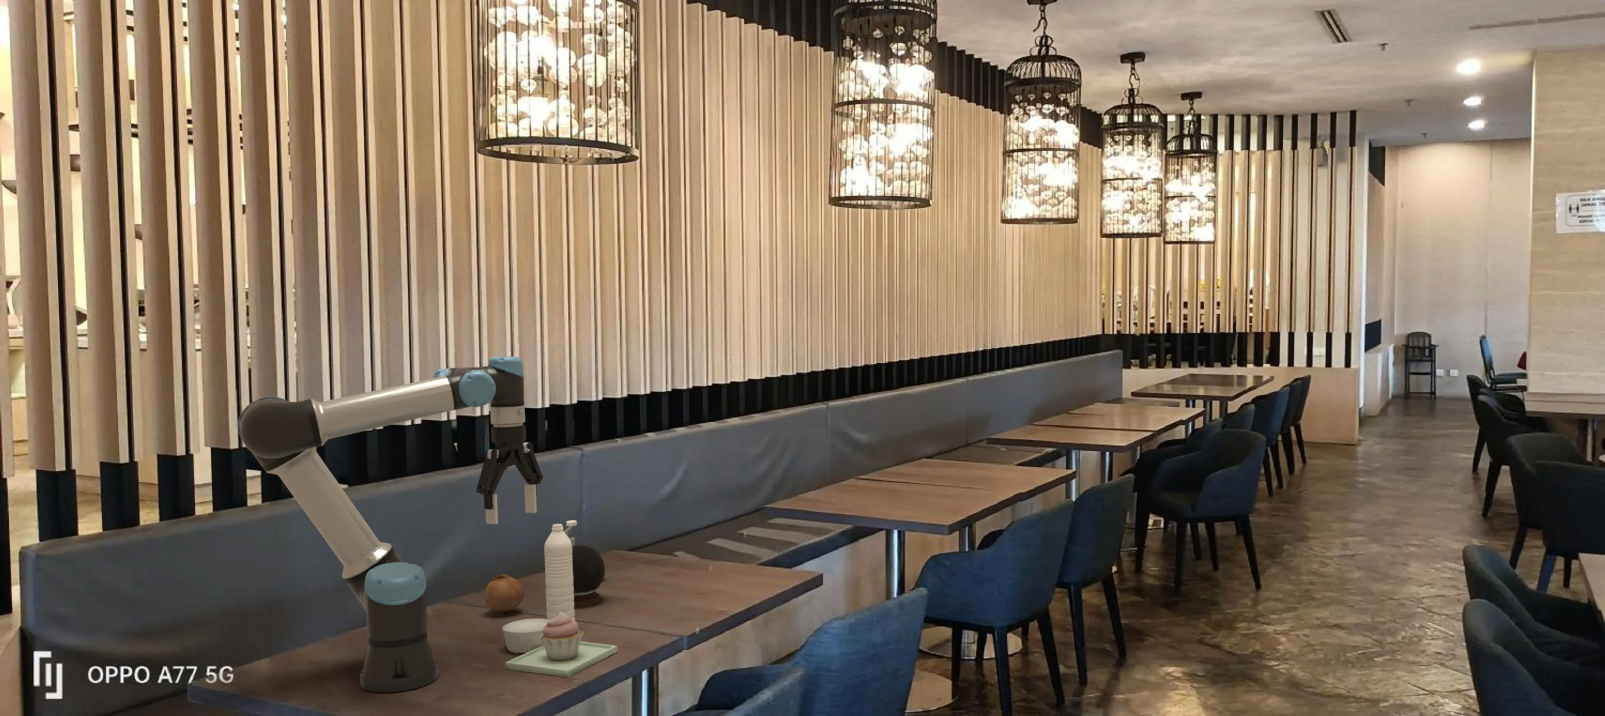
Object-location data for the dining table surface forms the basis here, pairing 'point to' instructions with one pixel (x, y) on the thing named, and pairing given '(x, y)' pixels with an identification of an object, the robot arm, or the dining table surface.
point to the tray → (543, 665)
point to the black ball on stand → (586, 576)
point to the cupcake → (561, 637)
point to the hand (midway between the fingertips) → (512, 518)
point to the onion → (504, 594)
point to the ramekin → (524, 635)
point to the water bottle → (559, 572)
